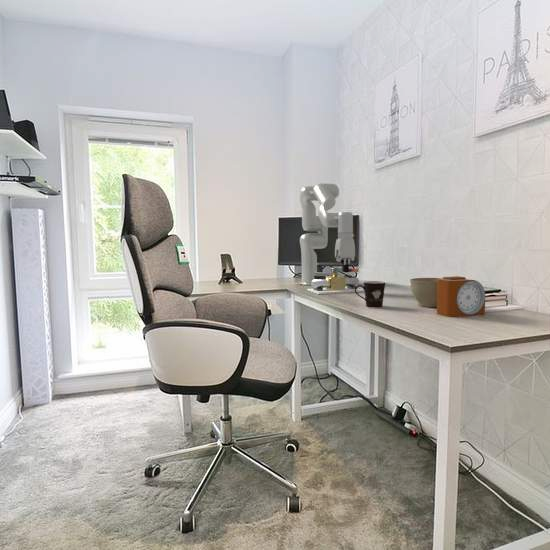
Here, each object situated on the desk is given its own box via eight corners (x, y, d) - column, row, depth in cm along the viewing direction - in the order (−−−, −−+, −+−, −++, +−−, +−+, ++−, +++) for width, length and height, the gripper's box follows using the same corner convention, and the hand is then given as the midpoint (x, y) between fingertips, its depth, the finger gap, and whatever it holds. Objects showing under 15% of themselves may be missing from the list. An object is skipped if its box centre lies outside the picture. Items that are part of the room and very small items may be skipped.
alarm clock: (450, 317, 131) (451, 278, 130) (434, 313, 139) (435, 276, 138) (485, 314, 135) (487, 277, 134) (467, 310, 143) (468, 275, 142)
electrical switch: (332, 288, 217) (331, 272, 215) (328, 290, 213) (327, 273, 211) (317, 287, 222) (316, 271, 220) (313, 289, 218) (312, 273, 216)
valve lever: (329, 271, 203) (329, 268, 203) (334, 270, 206) (334, 267, 206) (354, 272, 193) (354, 269, 193) (358, 271, 196) (358, 268, 196)
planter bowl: (435, 301, 164) (436, 276, 164) (461, 308, 149) (462, 280, 148) (402, 303, 161) (402, 278, 160) (424, 310, 145) (425, 282, 144)
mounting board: (307, 290, 207) (307, 288, 207) (351, 288, 214) (351, 286, 214) (318, 294, 192) (318, 292, 191) (366, 291, 199) (366, 289, 199)
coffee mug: (386, 305, 158) (386, 281, 157) (383, 308, 150) (383, 283, 149) (358, 303, 162) (358, 280, 162) (354, 307, 155) (354, 282, 154)
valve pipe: (310, 289, 203) (310, 272, 203) (353, 287, 211) (353, 270, 210) (315, 291, 197) (315, 273, 196) (360, 288, 204) (360, 271, 203)
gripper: (352, 236, 200) (352, 271, 202) (329, 236, 193) (329, 272, 195) (361, 236, 194) (361, 272, 195) (338, 236, 187) (338, 273, 188)
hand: (345, 272), depth 195 cm, fingers closed
